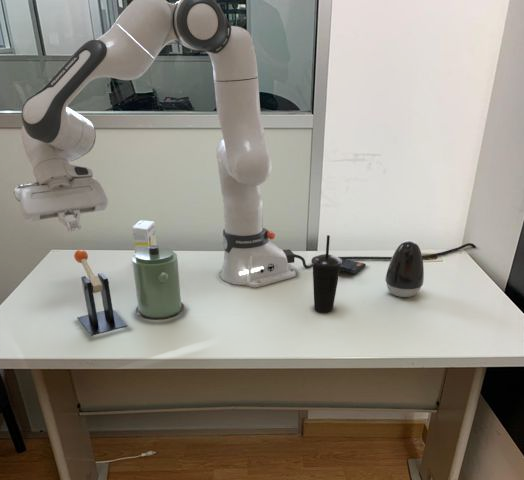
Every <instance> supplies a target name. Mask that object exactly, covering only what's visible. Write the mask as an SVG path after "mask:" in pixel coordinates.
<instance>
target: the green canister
mask: <svg viewBox="0 0 524 480" xmlns="http://www.w3.org/2000/svg"><path fill="white" fill-rule="evenodd" d="M178 260H179V259H178V254H177V252H174V251H173V250H172V249H171V248H170V247H164V246H158V244H156V245H152V246H149V248H144V249H141V250H139V251H137V252H136V253H135V252H134V254H133V256H132V257H131V262H132V271H133V280H134V287H135V293H136V302H137V306H136V309H135V314H136V315H137V316H138V317H140V318H142V319H145V320H151V321H163V320H168V319H172V318H175V317H177V316H179V315H181V314H182V313H183V312H184V311H185V305H184V303H183V302H182V298H181V297H182V296H181V284H180V283H181V282H180V272H179V262H178Z"/></svg>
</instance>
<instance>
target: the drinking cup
mask: <svg viewBox="0 0 524 480" xmlns="http://www.w3.org/2000/svg"><path fill="white" fill-rule="evenodd" d="M330 238H331V235H330V234H329V235H326V245H325V253H323V254H319V255H315V256H313V257H312V258H311V260H310V261H311V265H312V264H313V266H312V280H313V281H312V282H313V283H312V286H313V307H314V308H313V309H314V311H315V312H317V313H319V314H329V313H332V312H333V311H334V305H335V300H336V299H335V298H336V293H337V287H338V282H339V276H340V272H341V271H340V266H341V264H342V260H341V259H340V258H339V257H340V256H336V255H335V254H334V255H333V254H330V253H329V252H330Z"/></svg>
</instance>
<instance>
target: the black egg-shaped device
mask: <svg viewBox="0 0 524 480" xmlns="http://www.w3.org/2000/svg"><path fill="white" fill-rule="evenodd" d="M422 255H423V253H422V251H421V248H420V246H419V245H418V243H416V242H415V241H414V240H404V241H403V242H402V243H400V244H399V246H398V247H397V248H396V249H395V251H394V253H393V255H392V256H391V257H392V259H391V260H390V262H389V264H388V267H387V270H386V273H385V278H384V279H385V280H384V281H385V284H386V287H387V289H388V291H389V292H390V293H391V294H392V295H394V296H396V297H399V298H410V297H413V296H415V295H417V294H418V293H419V291H420V290H421V288H422V286H423V285H424V281H425V266H424V260H423V259H424V258H422Z"/></svg>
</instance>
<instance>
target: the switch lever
mask: <svg viewBox="0 0 524 480" xmlns="http://www.w3.org/2000/svg"><path fill="white" fill-rule="evenodd" d="M73 258H74V260H75V262H77V263H79V264H81V265H82V267H83V269H84V271H85V273H86V276H87V278H88V280H89V281H90V282H91V285H92V291H93V294H96V293H101V291H102V283H101V281H100V279H99V277H98V275H97V276H95V274H94V272H93V270H92V269H91V267H90V265H89V263H88V260H89V254H88V253H87V252H86V251H85V250H84V249H78V250H76V251H75V252H74V255H73Z"/></svg>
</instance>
